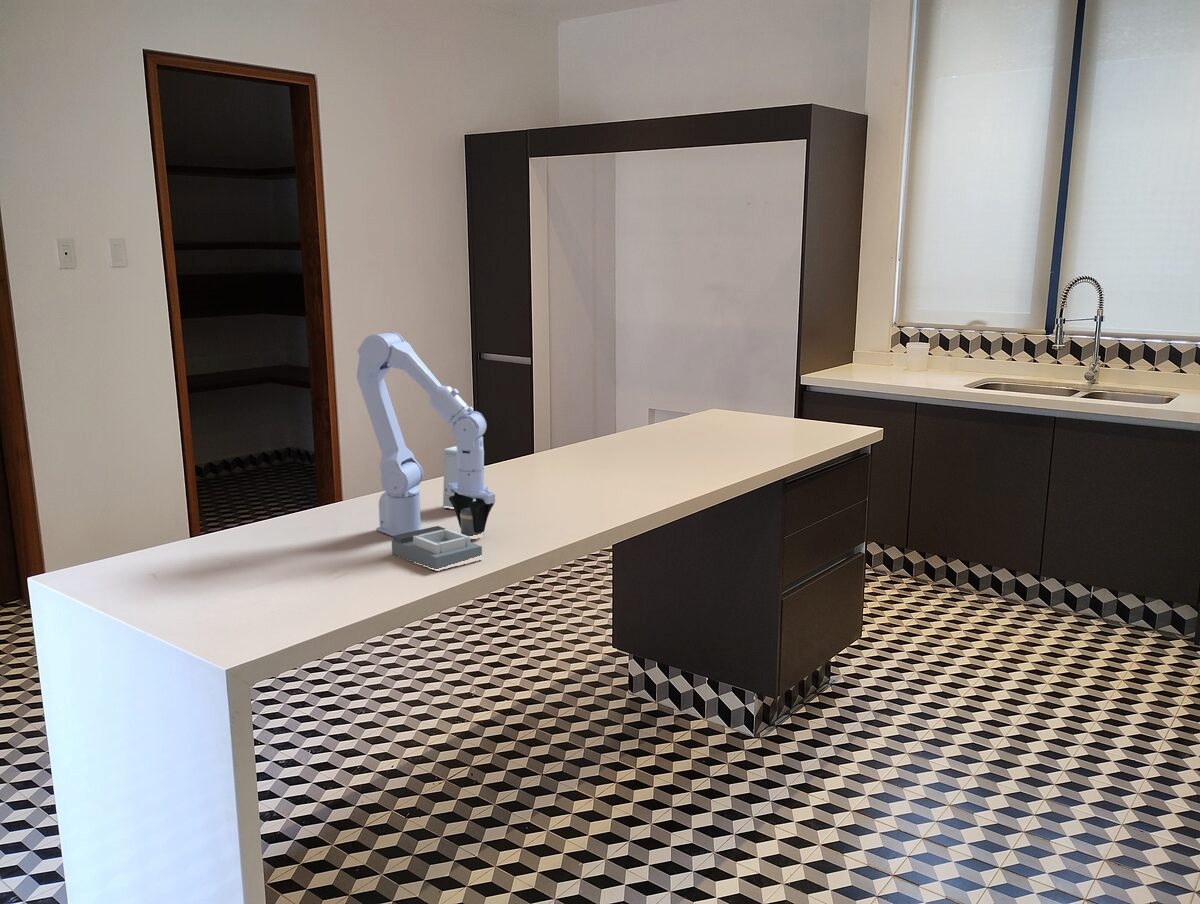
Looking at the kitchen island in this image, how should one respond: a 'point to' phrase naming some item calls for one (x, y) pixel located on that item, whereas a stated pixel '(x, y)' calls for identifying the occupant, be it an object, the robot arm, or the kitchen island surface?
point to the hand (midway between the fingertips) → (472, 529)
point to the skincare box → (450, 473)
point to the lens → (467, 522)
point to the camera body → (435, 547)
